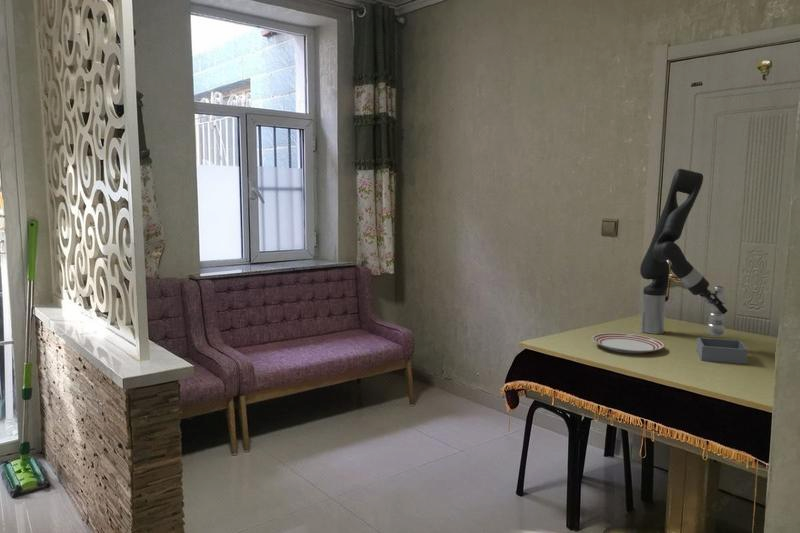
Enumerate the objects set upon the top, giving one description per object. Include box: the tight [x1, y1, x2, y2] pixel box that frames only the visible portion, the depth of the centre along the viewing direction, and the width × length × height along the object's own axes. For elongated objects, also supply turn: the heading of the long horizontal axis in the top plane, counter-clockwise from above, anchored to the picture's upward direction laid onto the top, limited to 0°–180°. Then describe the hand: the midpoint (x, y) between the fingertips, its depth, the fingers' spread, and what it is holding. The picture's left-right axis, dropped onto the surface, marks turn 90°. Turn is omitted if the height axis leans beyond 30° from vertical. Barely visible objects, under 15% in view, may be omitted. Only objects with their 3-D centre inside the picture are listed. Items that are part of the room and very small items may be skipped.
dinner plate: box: [591, 332, 665, 355], centre depth 243 cm, size 28×27×3 cm
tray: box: [696, 337, 749, 365], centre depth 229 cm, size 15×15×6 cm
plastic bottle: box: [706, 285, 728, 337], centre depth 242 cm, size 6×7×20 cm
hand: (721, 310), depth 241 cm, fingers closed on plastic bottle, 6 cm apart
